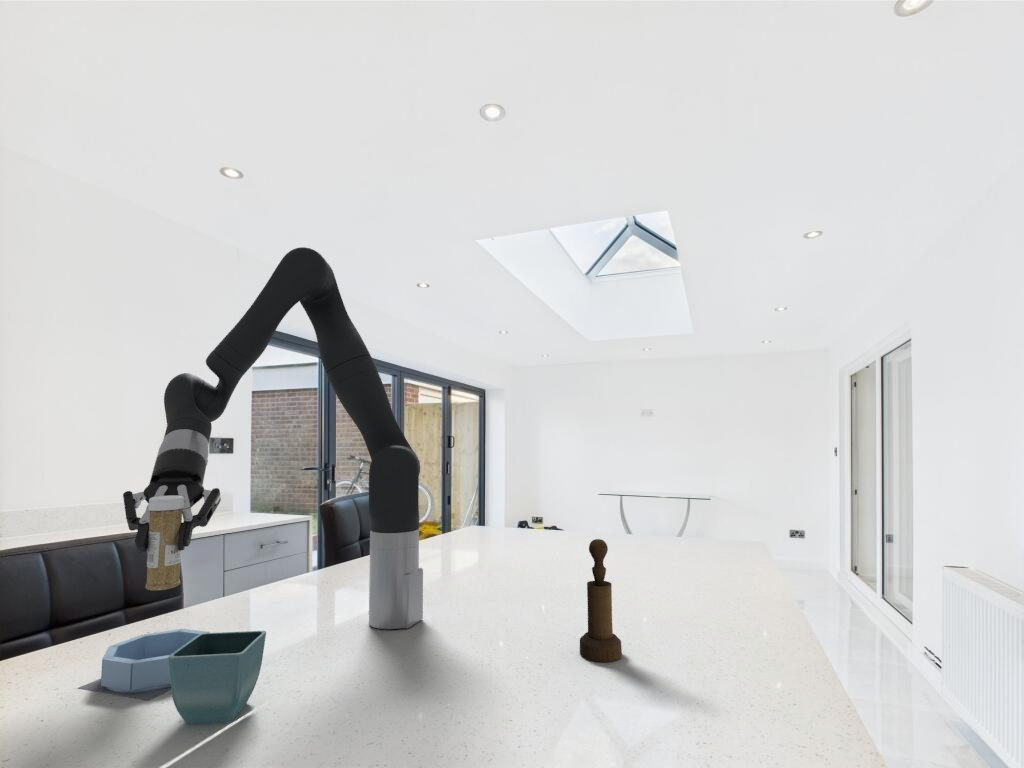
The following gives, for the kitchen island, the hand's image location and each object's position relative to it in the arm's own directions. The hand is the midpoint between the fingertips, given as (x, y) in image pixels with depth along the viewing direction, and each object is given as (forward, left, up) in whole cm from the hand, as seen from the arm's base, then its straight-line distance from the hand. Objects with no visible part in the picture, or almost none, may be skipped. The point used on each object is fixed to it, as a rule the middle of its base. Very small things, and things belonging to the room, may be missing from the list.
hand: (161, 548), depth 84 cm
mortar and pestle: (-60, -28, -19) cm, 69 cm away
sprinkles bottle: (+1, -2, -6) cm, 7 cm away
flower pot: (-17, +6, -19) cm, 26 cm away
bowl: (+1, -1, -18) cm, 18 cm away
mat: (+1, -1, -19) cm, 19 cm away
